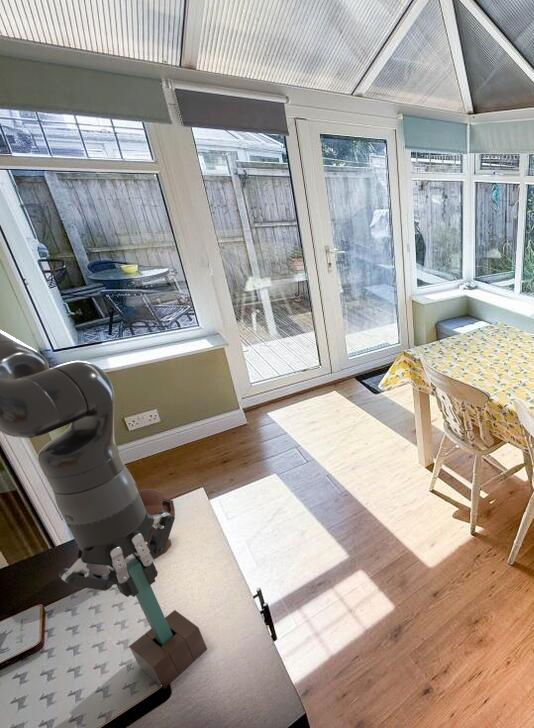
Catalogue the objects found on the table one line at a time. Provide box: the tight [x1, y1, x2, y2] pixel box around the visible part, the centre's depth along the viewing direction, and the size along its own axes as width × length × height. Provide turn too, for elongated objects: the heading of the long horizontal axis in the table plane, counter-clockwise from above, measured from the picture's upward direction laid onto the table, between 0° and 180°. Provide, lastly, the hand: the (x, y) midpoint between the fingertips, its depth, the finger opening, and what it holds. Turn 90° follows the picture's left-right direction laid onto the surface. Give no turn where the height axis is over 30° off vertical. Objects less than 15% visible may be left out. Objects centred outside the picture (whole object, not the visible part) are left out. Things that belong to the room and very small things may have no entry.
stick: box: [126, 557, 173, 647], centre depth 66 cm, size 2×2×22 cm
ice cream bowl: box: [138, 488, 176, 559], centre depth 87 cm, size 11×11×15 cm
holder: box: [128, 609, 208, 690], centre depth 70 cm, size 7×7×6 cm
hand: (141, 586), depth 64 cm, fingers closed on stick, 1 cm apart
